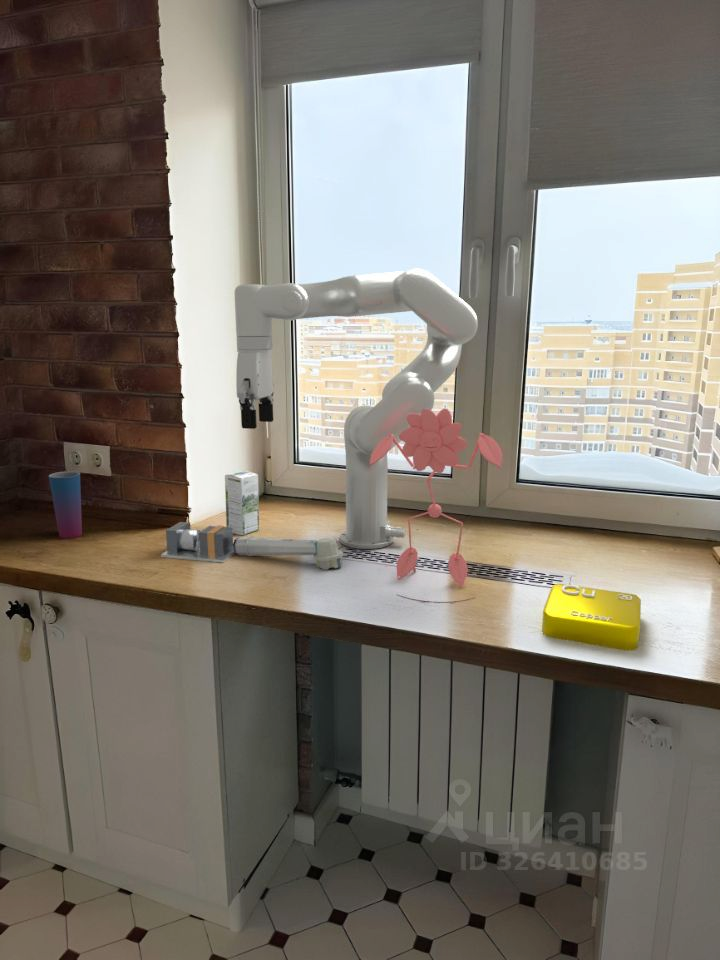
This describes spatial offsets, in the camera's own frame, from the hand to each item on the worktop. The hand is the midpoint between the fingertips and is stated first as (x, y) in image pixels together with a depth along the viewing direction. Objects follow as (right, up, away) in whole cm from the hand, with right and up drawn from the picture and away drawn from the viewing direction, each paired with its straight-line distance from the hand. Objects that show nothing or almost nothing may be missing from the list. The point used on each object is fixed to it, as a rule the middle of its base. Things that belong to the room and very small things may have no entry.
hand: (258, 424), depth 148 cm
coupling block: (-9, -28, +2) cm, 29 cm away
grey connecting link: (+7, -30, -1) cm, 31 cm away
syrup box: (-6, -25, +18) cm, 31 cm away
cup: (-47, -26, +15) cm, 56 cm away
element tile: (+62, -37, -32) cm, 79 cm away
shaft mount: (-13, -28, +3) cm, 31 cm away
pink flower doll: (+35, -33, -16) cm, 51 cm away
